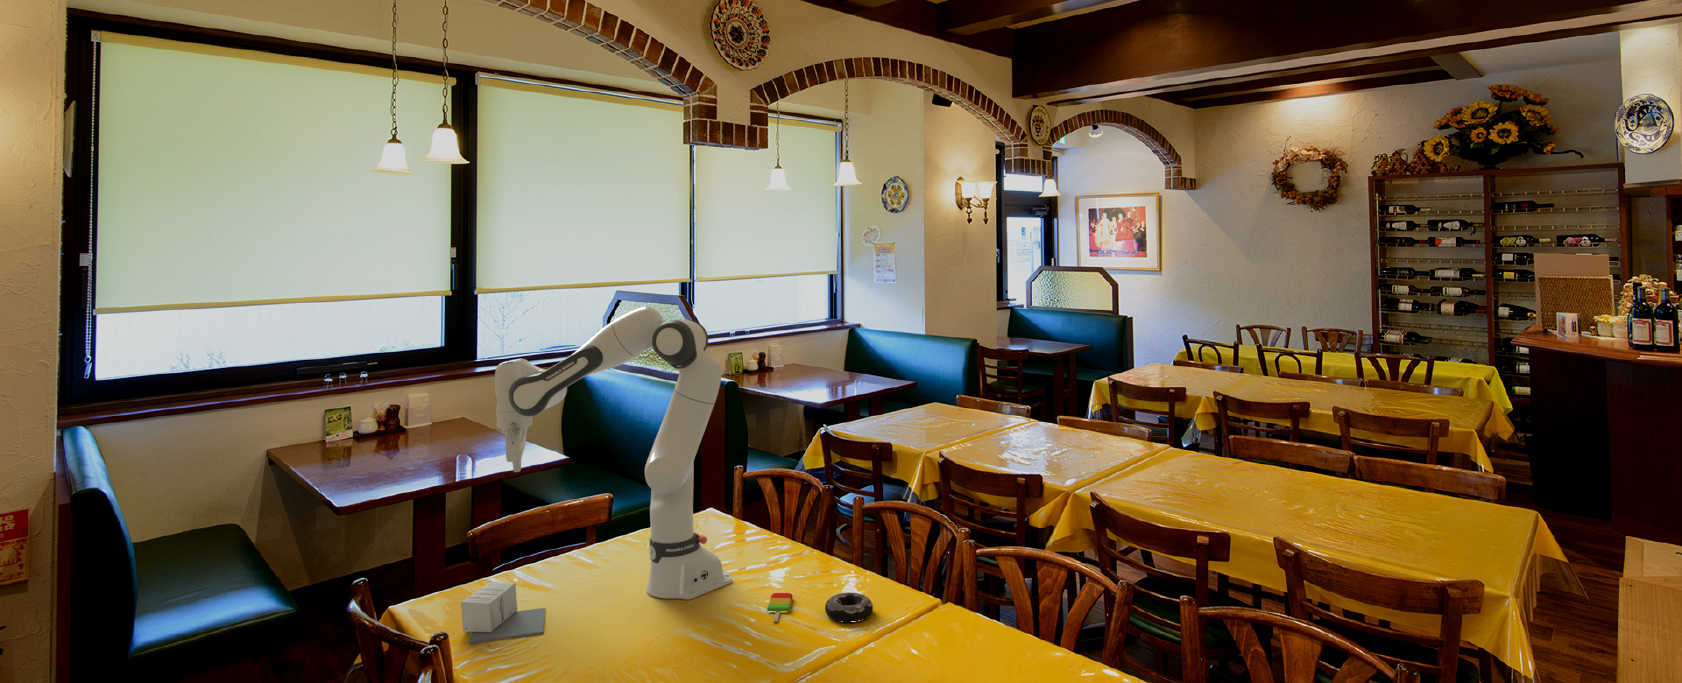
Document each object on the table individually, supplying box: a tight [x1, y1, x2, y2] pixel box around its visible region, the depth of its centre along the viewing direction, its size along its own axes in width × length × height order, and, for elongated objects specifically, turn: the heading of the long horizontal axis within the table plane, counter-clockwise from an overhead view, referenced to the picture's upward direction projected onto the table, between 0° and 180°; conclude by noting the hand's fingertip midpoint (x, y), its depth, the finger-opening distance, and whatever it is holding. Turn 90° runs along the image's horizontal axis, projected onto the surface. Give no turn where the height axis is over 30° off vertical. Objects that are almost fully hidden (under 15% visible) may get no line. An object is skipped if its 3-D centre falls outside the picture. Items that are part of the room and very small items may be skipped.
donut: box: [824, 591, 874, 622], centre depth 202 cm, size 12×12×4 cm
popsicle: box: [766, 592, 793, 623], centre depth 205 cm, size 6×15×2 cm, turn 177°
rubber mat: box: [468, 607, 546, 645], centre depth 198 cm, size 14×16×1 cm
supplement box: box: [460, 581, 518, 633], centre depth 199 cm, size 7×7×13 cm
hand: (517, 470), depth 221 cm, fingers closed
